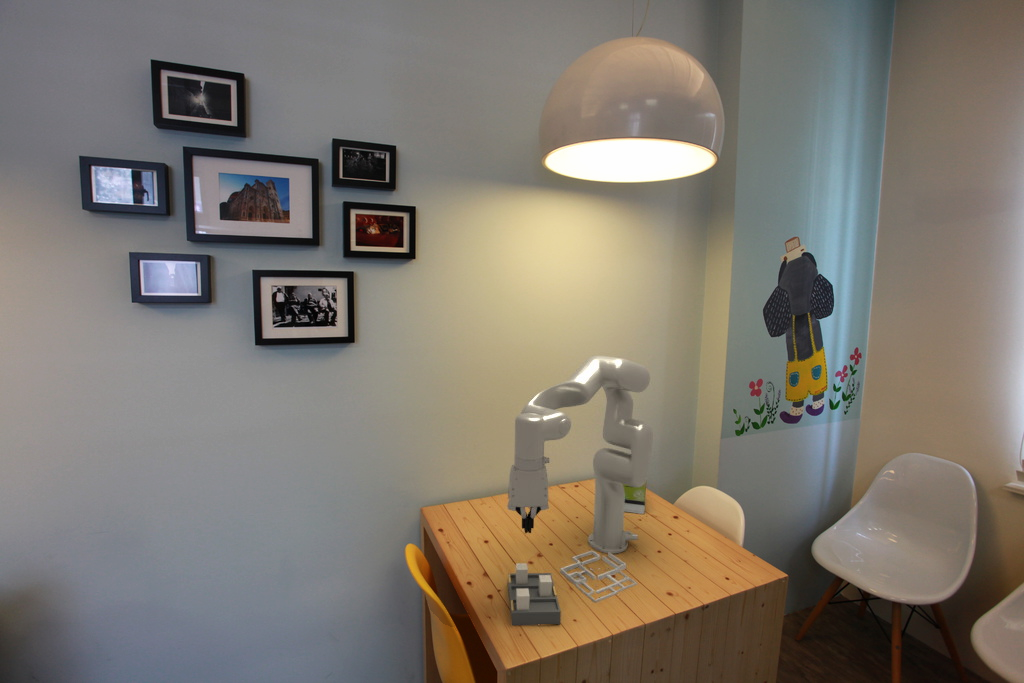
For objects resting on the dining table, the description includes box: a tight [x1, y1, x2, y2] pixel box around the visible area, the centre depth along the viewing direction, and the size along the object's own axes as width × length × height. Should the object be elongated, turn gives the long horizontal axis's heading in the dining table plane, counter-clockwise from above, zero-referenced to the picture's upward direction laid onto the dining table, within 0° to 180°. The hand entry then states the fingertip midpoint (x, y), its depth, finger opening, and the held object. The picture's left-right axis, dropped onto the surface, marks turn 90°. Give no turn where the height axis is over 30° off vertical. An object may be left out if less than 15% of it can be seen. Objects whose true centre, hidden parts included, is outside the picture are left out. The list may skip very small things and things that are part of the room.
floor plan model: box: [559, 549, 637, 603], centre depth 136 cm, size 19×25×2 cm
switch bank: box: [507, 572, 562, 626], centre depth 120 cm, size 12×16×4 cm
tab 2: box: [516, 588, 530, 610], centre depth 114 cm, size 3×3×4 cm
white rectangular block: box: [515, 562, 529, 584], centre depth 125 cm, size 3×3×4 cm
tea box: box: [622, 478, 648, 515], centre depth 178 cm, size 15×10×15 cm
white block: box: [539, 575, 552, 597], centre depth 120 cm, size 3×3×4 cm
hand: (527, 530), depth 119 cm, fingers closed
